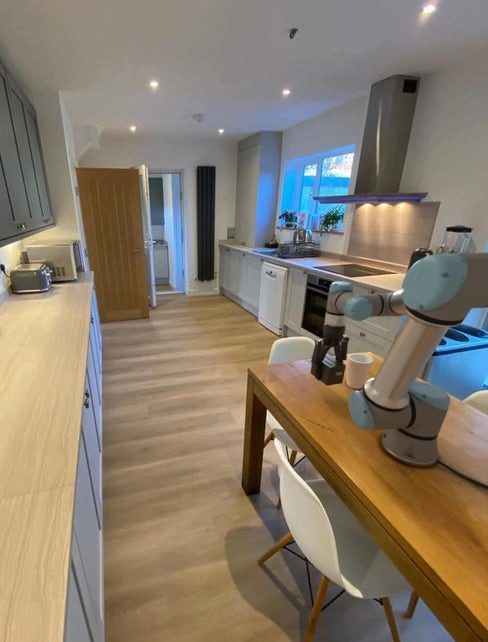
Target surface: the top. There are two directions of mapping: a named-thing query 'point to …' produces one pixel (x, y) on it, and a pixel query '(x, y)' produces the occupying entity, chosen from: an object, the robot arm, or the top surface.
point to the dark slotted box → (331, 371)
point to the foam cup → (358, 369)
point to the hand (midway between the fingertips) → (325, 377)
